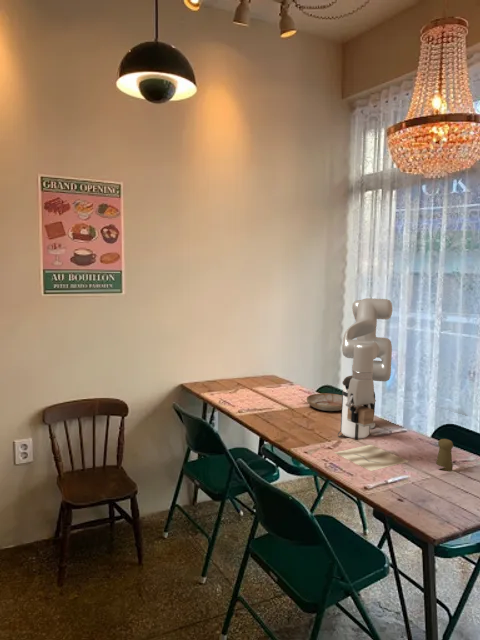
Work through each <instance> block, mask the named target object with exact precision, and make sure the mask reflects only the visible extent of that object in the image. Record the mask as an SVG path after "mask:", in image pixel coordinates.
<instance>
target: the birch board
mask: <svg viewBox="0 0 480 640" xmlns="http://www.w3.org/2000/svg"><path fill="white" fill-rule="evenodd" d="M334 454H336V455H337V456H340V457H342V458H344V459H345V460H348V461H350V462H352V463H353V464H355V465H357V466H359V467H360V468H361V467H362V468H363V469H366V470H368V471H369V472H373V471H377V470H381V469H386V468H389V467H393V466H396V465H397V466H398V465H401V464H404V463H409V462H410V461H409V460H407V459H406V458H405V459H404V458H402V457H400V456H397V455H395V454H394V453H391V452H388V451H387V450H384V449H382V448H380V447H378V446H375V445H372V444H368V445H362V446H358V447H353V448H349V449H345V450H339V451H336V452H334Z"/></svg>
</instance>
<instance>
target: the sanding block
mask: <svg viewBox="0 0 480 640" xmlns="http://www.w3.org/2000/svg"><path fill="white" fill-rule="evenodd" d="M355 407H356V406H354V408H355ZM357 413H358V423H355V424H358V425H360V426H363V427H365V426H371V425H373V422H374V417H375V412H374V410H373V409H370V408H368V407H365V406H362V405H359V408H358V412H357ZM351 414H352V412H351V411H350V409H349V408H348V415H347V420H348V421H350V422H352V421H351ZM353 423H354V422H353Z"/></svg>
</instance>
